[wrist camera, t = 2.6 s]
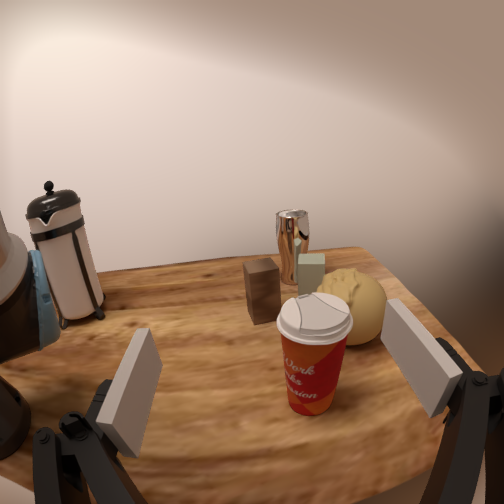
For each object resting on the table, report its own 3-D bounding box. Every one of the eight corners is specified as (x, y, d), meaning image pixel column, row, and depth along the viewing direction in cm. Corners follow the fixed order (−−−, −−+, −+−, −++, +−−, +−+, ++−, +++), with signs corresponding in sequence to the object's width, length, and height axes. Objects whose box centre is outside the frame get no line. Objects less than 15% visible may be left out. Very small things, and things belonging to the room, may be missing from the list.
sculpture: (315, 311, 51) (315, 257, 47) (379, 313, 47) (386, 258, 43) (308, 353, 40) (309, 291, 37) (386, 355, 37) (399, 293, 33)
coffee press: (128, 301, 59) (98, 167, 49) (77, 339, 46) (29, 186, 35) (87, 289, 66) (60, 177, 56) (43, 317, 53) (5, 195, 42)
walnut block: (254, 325, 49) (248, 273, 45) (248, 310, 53) (242, 262, 50) (281, 319, 50) (279, 268, 46) (273, 305, 54) (270, 257, 51)
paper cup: (272, 387, 35) (266, 299, 30) (324, 371, 36) (331, 284, 31) (292, 431, 28) (293, 343, 22) (351, 410, 29) (370, 319, 24)
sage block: (298, 301, 55) (297, 264, 52) (299, 289, 59) (299, 253, 56) (323, 301, 53) (324, 263, 51) (323, 289, 58) (324, 253, 55)
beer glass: (280, 271, 68) (277, 209, 62) (310, 271, 66) (308, 208, 61) (277, 286, 61) (272, 218, 56) (309, 286, 60) (308, 217, 54)
